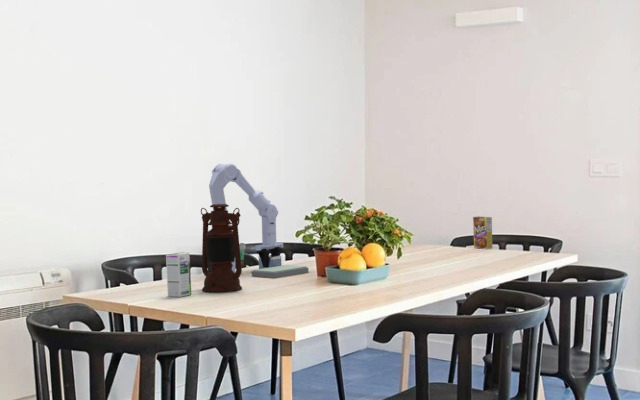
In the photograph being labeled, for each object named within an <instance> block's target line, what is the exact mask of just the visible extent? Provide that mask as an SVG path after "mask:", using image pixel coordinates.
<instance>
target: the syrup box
mask: <svg viewBox="0 0 640 400" xmlns="http://www.w3.org/2000/svg"><path fill="white" fill-rule="evenodd" d="M190 258H191V257H190V252H187V251H186V252H185V251H180V252H179V251H178V252H172V253H167V254H165V262H166V265H165V266H166V279H167V280H166V281H167V282H166V283H167V296H168V297H171V298H173V297H174V298H182V297H186V296H191V295H192V283H191V282H192V281H191V259H190Z"/></svg>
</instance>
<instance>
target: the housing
mask: <svg viewBox="0 0 640 400" xmlns="http://www.w3.org/2000/svg"><path fill="white" fill-rule="evenodd" d="M276 266H282V255H280V256H275V255H271V254H269V258H268V267H267V268H270V267H276ZM264 268H266V267H263V265H262V261H261V259H260V256H259V255H258V269H264Z"/></svg>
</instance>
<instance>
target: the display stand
mask: <svg viewBox="0 0 640 400" xmlns="http://www.w3.org/2000/svg"><path fill="white" fill-rule="evenodd" d="M309 272H310V271H309V267H308V266H305V265H295V264H294V265H290V264H284V265H281V266H276V267H270V268H264V269H259V268H258V269H252V271H251V277H252V276H253V277H252V278H264V279H265V278H267V279H279V278H284V277H289V276H290V277H291V276H295V275H303V274H308V273H309Z"/></svg>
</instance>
